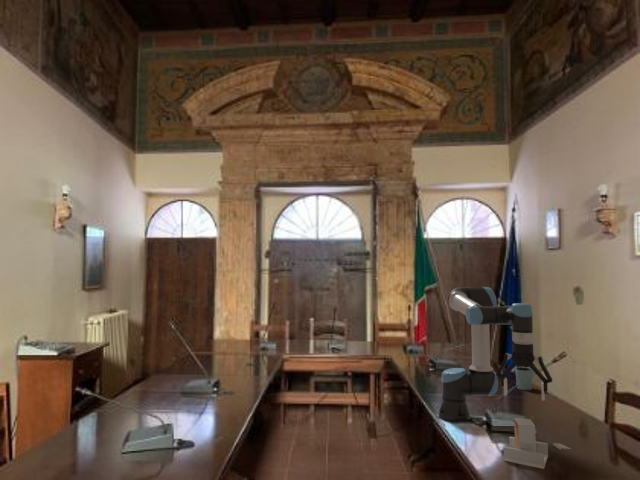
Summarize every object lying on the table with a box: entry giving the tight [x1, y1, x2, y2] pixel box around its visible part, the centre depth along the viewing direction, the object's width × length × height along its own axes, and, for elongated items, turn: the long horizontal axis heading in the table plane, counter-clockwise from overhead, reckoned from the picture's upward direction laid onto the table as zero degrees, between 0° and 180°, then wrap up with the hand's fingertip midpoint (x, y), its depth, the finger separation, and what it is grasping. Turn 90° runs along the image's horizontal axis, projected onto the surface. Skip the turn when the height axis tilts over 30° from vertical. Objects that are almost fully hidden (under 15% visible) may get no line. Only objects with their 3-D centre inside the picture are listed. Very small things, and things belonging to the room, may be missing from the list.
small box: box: [513, 417, 537, 452], centre depth 178 cm, size 8×6×13 cm
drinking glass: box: [514, 366, 534, 391], centre depth 282 cm, size 10×10×12 cm
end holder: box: [502, 436, 549, 470], centre depth 178 cm, size 14×13×5 cm
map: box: [551, 442, 572, 451], centre depth 183 cm, size 5×20×1 cm, turn 23°
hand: (524, 397), depth 179 cm, fingers open, 13 cm apart
